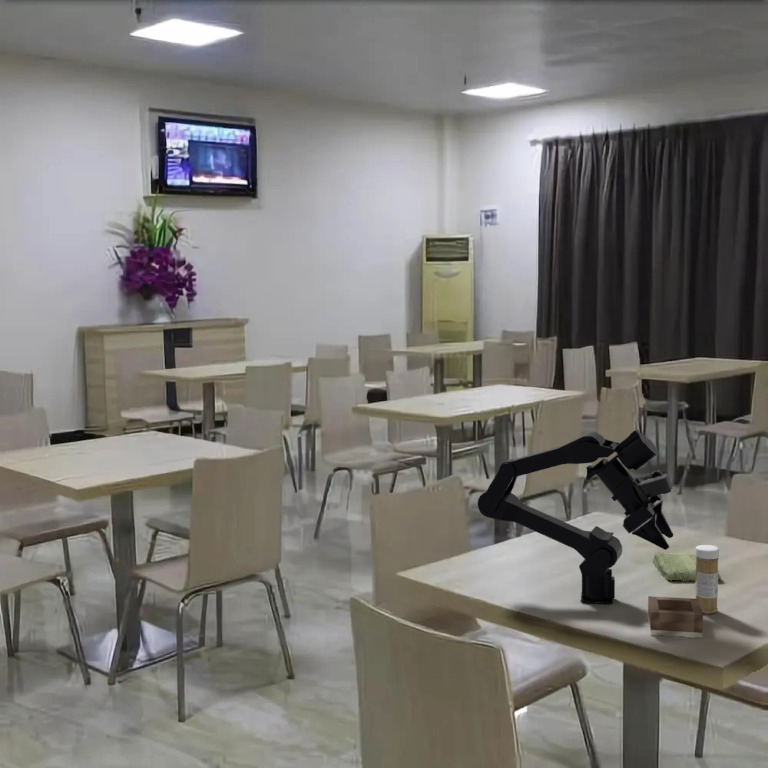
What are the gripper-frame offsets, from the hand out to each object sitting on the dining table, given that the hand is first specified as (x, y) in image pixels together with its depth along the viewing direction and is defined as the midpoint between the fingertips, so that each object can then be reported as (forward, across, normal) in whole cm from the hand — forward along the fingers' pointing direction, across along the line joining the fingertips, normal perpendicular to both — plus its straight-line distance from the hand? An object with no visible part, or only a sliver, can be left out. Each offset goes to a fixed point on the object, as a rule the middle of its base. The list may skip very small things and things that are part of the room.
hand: (669, 542), depth 204 cm
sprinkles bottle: (+15, 0, +3) cm, 16 cm away
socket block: (+12, -12, +7) cm, 19 cm away
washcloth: (+12, +27, +9) cm, 31 cm away
